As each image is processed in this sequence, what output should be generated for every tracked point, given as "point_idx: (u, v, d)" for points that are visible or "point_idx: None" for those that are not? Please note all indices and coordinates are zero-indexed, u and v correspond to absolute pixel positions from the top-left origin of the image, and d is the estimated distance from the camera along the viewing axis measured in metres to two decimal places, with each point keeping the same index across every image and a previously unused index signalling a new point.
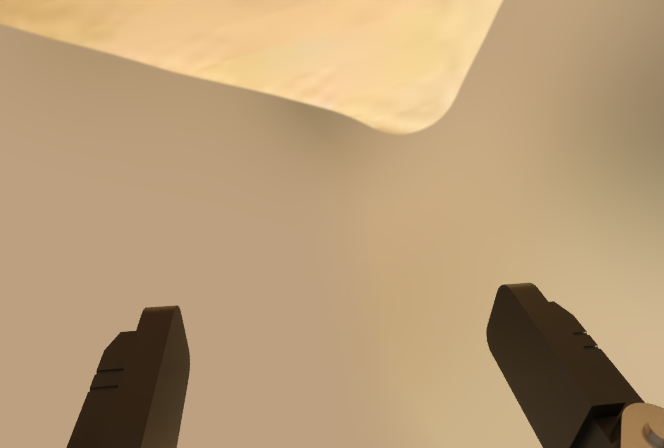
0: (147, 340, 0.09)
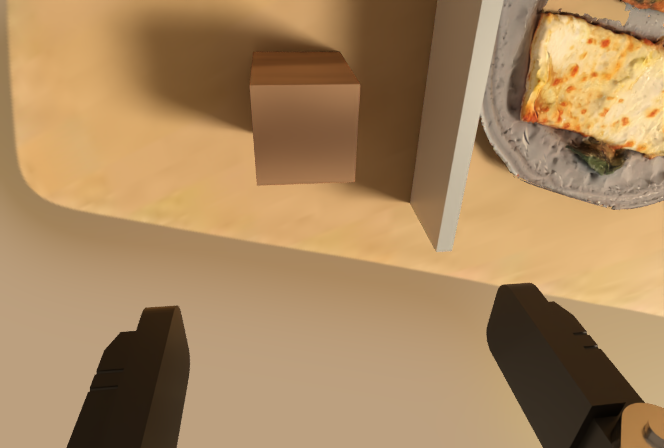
0: (147, 340, 0.09)
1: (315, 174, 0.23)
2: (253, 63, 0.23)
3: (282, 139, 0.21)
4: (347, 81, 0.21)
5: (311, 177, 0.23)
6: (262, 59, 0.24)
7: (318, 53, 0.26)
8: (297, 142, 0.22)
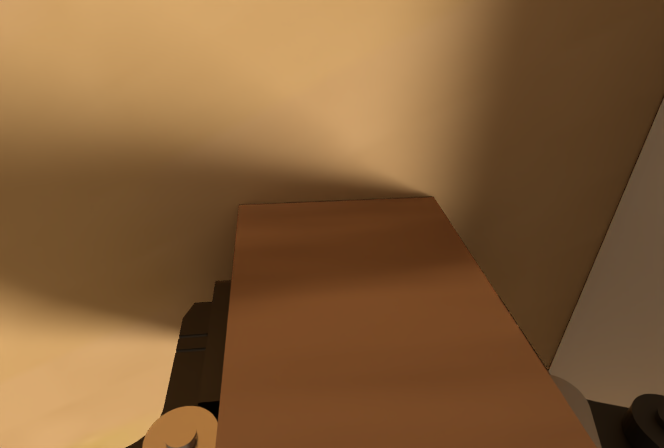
0: (224, 308, 0.10)
1: None
2: (235, 279, 0.09)
3: None
4: (544, 423, 0.06)
5: None
6: (259, 249, 0.10)
7: (390, 209, 0.11)
8: None
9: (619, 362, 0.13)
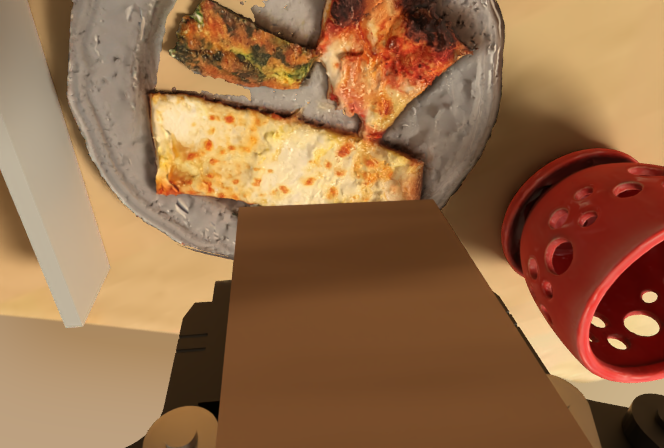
0: (224, 308, 0.10)
1: None
2: (235, 281, 0.09)
3: None
4: (543, 427, 0.06)
5: None
6: (259, 252, 0.10)
7: (389, 212, 0.11)
8: None
9: None
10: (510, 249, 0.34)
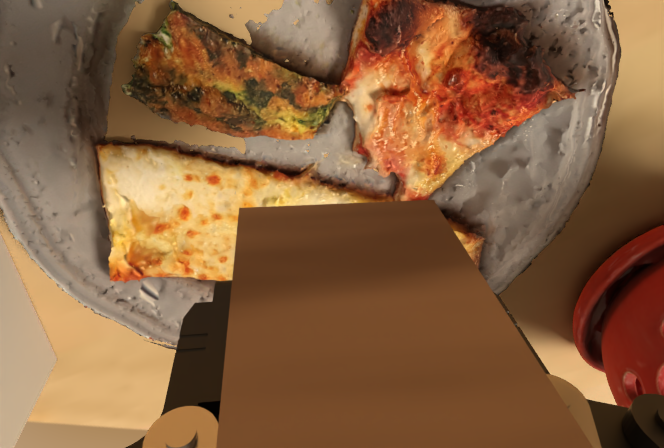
0: (224, 308, 0.10)
1: None
2: (235, 282, 0.09)
3: None
4: (543, 428, 0.06)
5: None
6: (259, 252, 0.10)
7: (389, 212, 0.11)
8: None
9: None
10: (584, 339, 0.26)
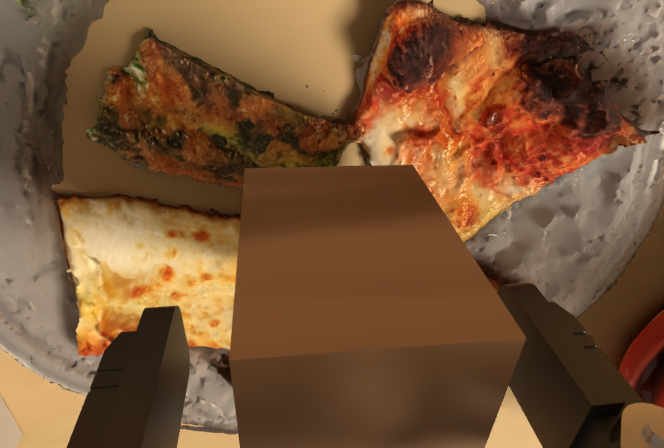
0: (147, 340, 0.09)
1: None
2: (243, 221, 0.10)
3: (314, 447, 0.09)
4: (485, 318, 0.08)
5: None
6: (263, 201, 0.11)
7: (374, 173, 0.13)
8: (349, 447, 0.09)
9: None
10: None
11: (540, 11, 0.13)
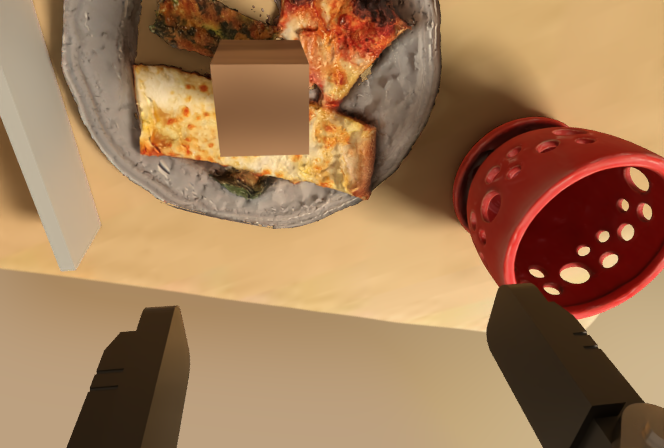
0: (147, 340, 0.09)
1: (273, 146, 0.25)
2: (218, 48, 0.26)
3: (242, 114, 0.24)
4: (298, 62, 0.24)
5: (269, 149, 0.25)
6: (227, 45, 0.27)
7: (279, 41, 0.28)
8: (255, 116, 0.24)
9: None
10: (460, 210, 0.38)
11: None
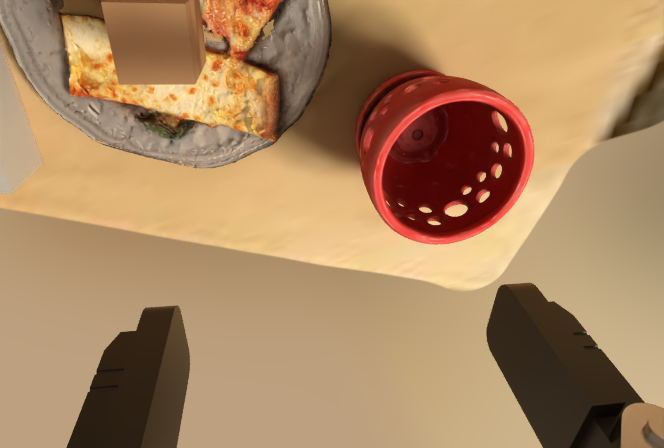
0: (147, 340, 0.09)
1: (163, 76, 0.30)
2: None
3: (133, 47, 0.29)
4: (177, 2, 0.28)
5: (160, 79, 0.30)
6: None
7: None
8: (144, 49, 0.29)
9: None
10: None
11: None
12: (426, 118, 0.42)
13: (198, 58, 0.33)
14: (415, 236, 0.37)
